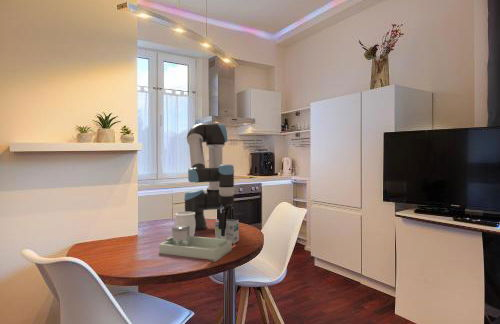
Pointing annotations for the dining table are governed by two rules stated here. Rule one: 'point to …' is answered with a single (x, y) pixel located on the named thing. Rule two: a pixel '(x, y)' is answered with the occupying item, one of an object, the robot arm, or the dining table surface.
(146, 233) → the dining table surface
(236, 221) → the light bulb box
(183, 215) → the jar
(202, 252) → the tray
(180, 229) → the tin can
